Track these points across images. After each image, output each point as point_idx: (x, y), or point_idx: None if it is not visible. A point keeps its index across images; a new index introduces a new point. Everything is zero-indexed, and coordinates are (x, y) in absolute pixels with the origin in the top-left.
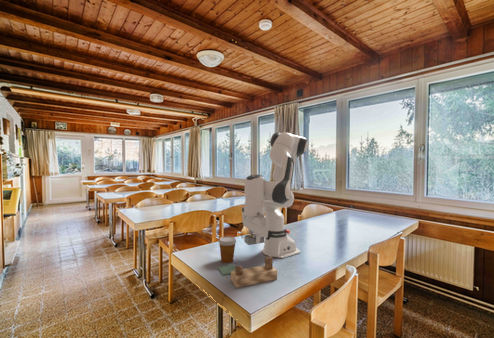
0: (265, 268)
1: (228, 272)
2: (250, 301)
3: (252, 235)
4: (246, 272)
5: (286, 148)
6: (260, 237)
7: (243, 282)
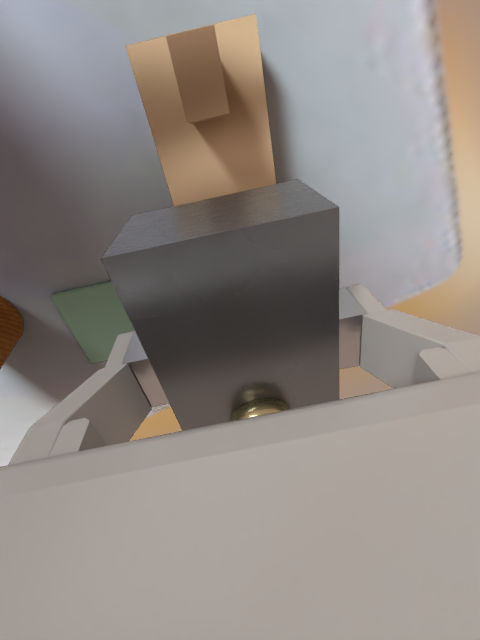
0: (206, 122)
1: None
2: (399, 263)
3: None
4: None
5: None
6: (435, 327)
7: None
